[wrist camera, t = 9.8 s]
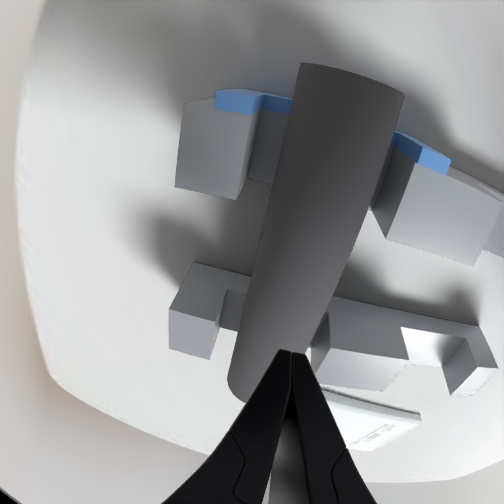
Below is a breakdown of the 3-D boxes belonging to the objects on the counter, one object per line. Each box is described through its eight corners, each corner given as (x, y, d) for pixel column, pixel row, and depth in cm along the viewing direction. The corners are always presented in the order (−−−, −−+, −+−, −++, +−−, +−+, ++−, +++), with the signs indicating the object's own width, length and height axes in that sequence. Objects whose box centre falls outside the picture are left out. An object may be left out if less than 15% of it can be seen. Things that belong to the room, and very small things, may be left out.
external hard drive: (319, 382, 22) (419, 409, 24) (272, 420, 27) (367, 441, 28) (319, 399, 21) (422, 423, 22) (271, 434, 25) (368, 453, 26)
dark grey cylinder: (384, 92, 10) (421, 99, 7) (286, 362, 18) (284, 410, 15) (298, 66, 10) (304, 59, 7) (231, 352, 18) (223, 399, 15)
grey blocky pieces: (546, 209, 11) (585, 243, 8) (457, 354, 18) (472, 397, 15) (218, 85, 12) (184, 86, 8) (190, 300, 19) (167, 350, 15)
